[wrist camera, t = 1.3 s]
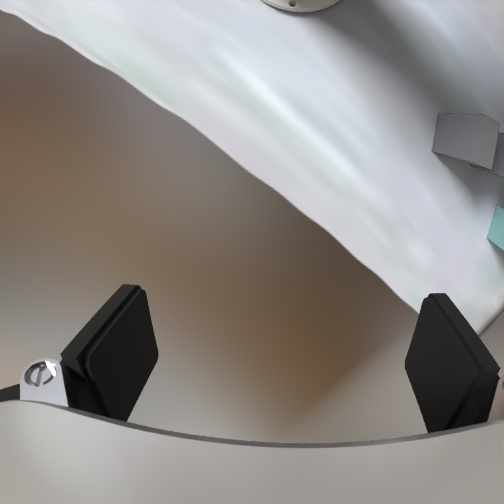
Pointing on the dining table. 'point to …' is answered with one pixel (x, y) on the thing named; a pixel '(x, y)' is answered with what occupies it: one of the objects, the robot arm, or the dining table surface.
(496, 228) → the teal tile
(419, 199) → the dining table surface
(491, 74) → the dining table surface
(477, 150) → the tile
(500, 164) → the tile
